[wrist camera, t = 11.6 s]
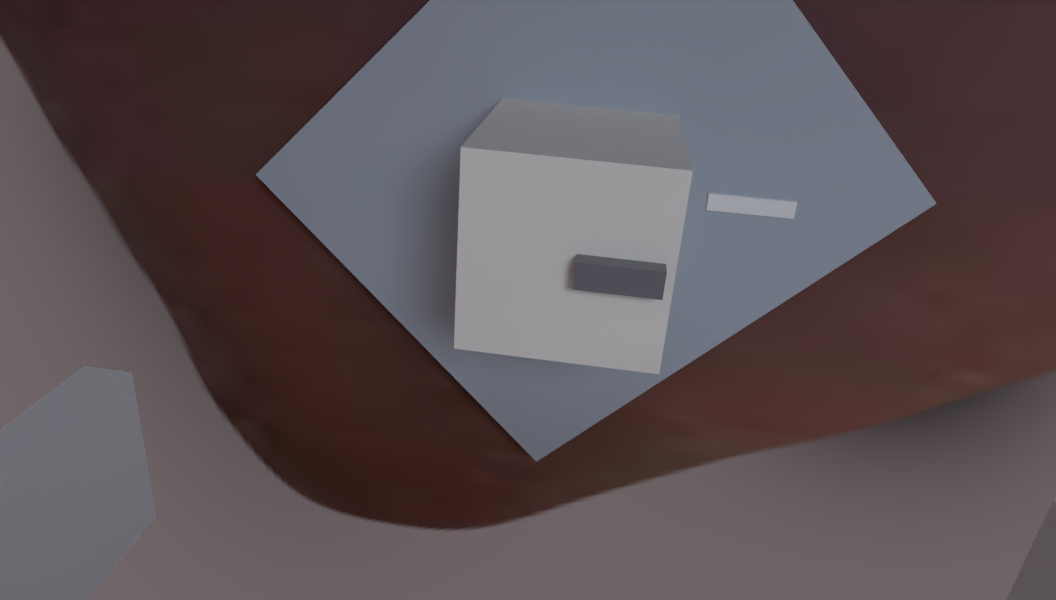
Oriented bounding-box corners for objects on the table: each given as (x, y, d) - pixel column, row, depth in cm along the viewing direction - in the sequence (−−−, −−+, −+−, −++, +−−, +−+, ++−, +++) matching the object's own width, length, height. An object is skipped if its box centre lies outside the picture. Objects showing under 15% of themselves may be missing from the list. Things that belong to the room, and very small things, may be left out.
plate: (272, 164, 30) (176, 223, 24) (641, -204, 24) (643, -257, 17) (540, 441, 34) (518, 554, 28) (921, 190, 27) (1006, 264, 21)
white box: (493, 260, 29) (449, 358, 22) (502, 98, 26) (455, 152, 20) (654, 278, 28) (659, 385, 22) (679, 115, 26) (694, 177, 19)
